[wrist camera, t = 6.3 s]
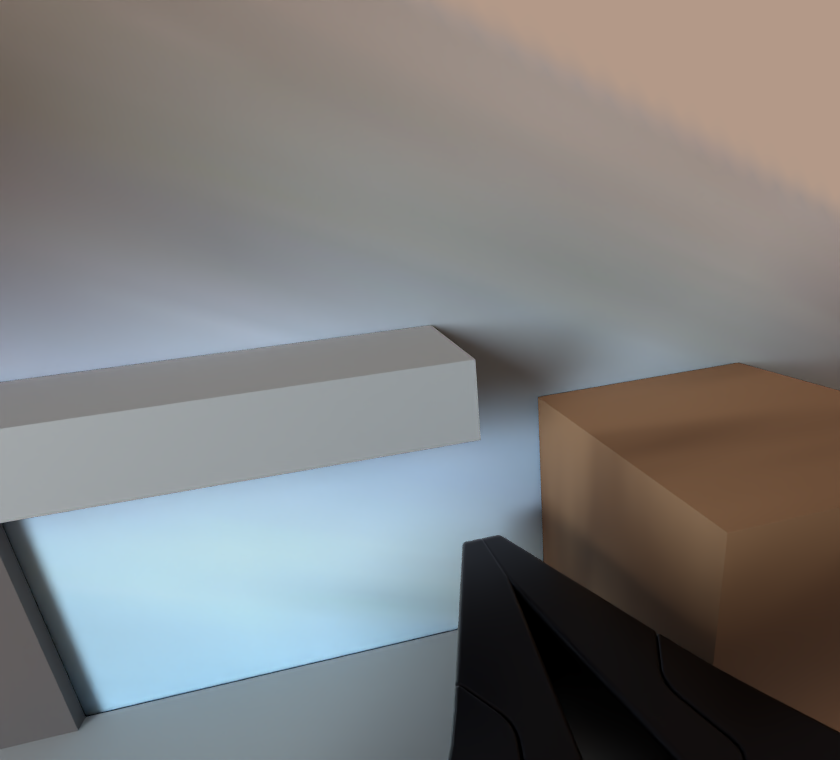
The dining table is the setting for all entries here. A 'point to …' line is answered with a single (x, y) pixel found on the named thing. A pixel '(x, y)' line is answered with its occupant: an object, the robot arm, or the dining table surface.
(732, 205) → the dining table surface
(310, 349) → the channel
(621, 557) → the walnut block
